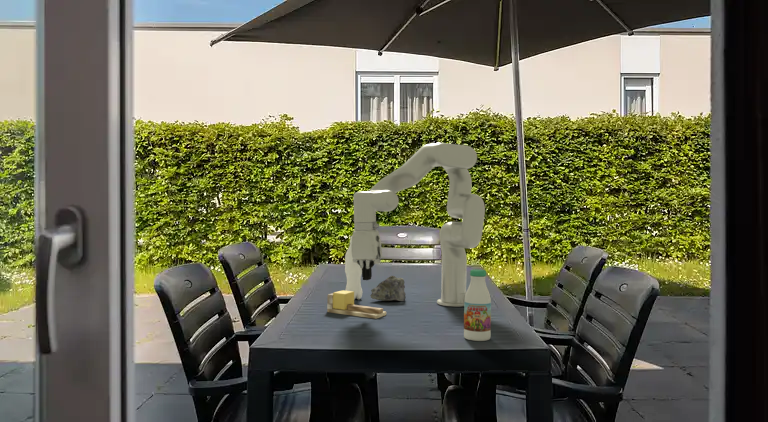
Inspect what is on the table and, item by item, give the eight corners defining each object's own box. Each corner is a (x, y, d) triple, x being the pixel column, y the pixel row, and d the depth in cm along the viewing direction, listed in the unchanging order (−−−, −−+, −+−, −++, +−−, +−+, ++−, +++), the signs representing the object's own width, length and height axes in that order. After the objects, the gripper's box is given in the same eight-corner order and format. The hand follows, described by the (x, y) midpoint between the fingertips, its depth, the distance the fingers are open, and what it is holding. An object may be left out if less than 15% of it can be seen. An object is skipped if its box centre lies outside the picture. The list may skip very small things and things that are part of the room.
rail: (386, 315, 194) (386, 297, 194) (376, 318, 188) (376, 300, 187) (338, 308, 204) (338, 291, 203) (327, 312, 198) (327, 294, 197)
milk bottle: (461, 335, 167) (462, 268, 166) (486, 334, 167) (487, 268, 167) (467, 341, 159) (468, 271, 159) (493, 341, 160) (494, 271, 159)
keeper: (353, 306, 200) (354, 291, 200) (344, 309, 194) (344, 294, 194) (342, 305, 202) (342, 290, 202) (332, 308, 197) (332, 292, 197)
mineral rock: (369, 302, 217) (369, 276, 217) (376, 297, 228) (377, 273, 227) (401, 304, 214) (402, 278, 214) (407, 299, 224) (408, 274, 224)
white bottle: (363, 297, 227) (364, 235, 226) (361, 300, 220) (361, 237, 219) (346, 296, 227) (346, 235, 227) (343, 300, 220) (343, 236, 220)
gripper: (389, 226, 193) (391, 279, 194) (352, 225, 200) (354, 276, 201) (378, 228, 186) (380, 282, 187) (341, 227, 194) (343, 280, 195)
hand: (367, 279), depth 194 cm, fingers closed
